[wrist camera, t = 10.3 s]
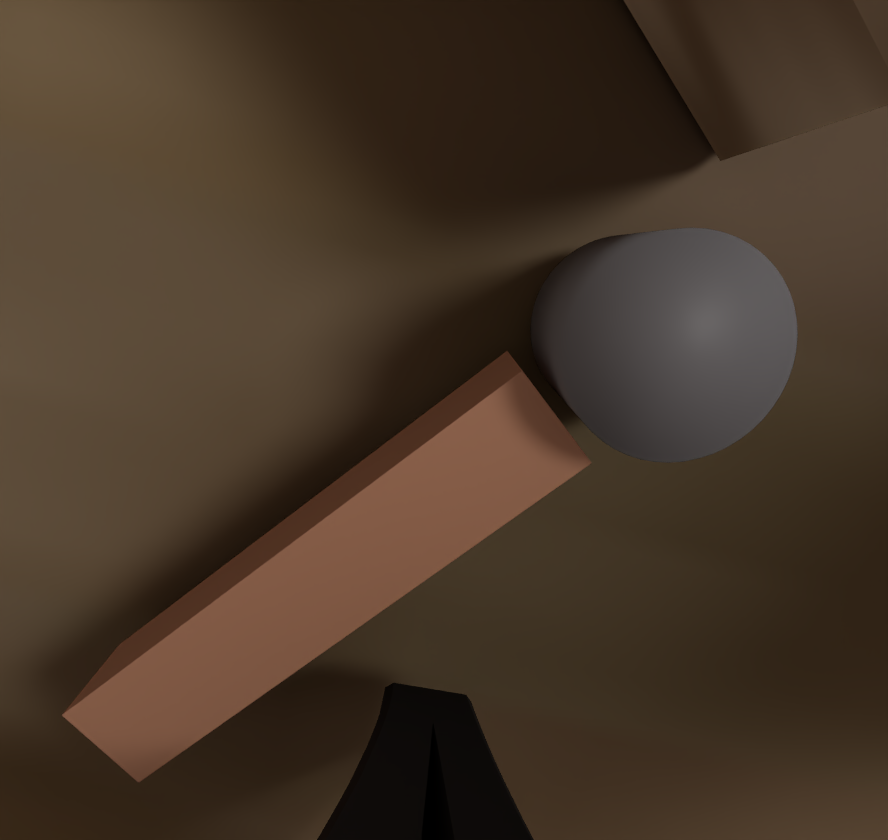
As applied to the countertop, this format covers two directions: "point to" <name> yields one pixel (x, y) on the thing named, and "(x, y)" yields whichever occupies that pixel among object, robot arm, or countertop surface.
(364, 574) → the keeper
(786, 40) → the block
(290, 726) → the countertop surface
